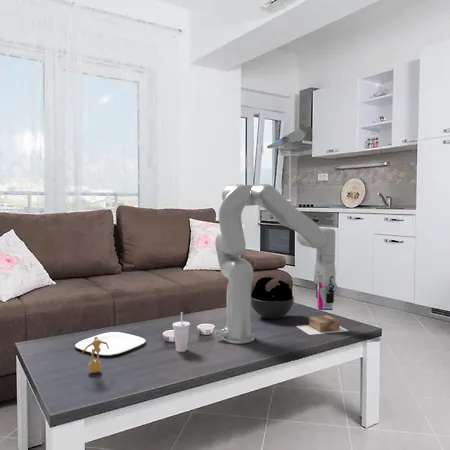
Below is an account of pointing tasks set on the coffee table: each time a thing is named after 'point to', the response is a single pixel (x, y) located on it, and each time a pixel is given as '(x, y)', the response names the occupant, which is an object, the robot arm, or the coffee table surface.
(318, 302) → the supplement box
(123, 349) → the plate
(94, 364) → the figurine
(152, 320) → the coffee table surface
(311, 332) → the board
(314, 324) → the walnut block
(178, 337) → the smoothie
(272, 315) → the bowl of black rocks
